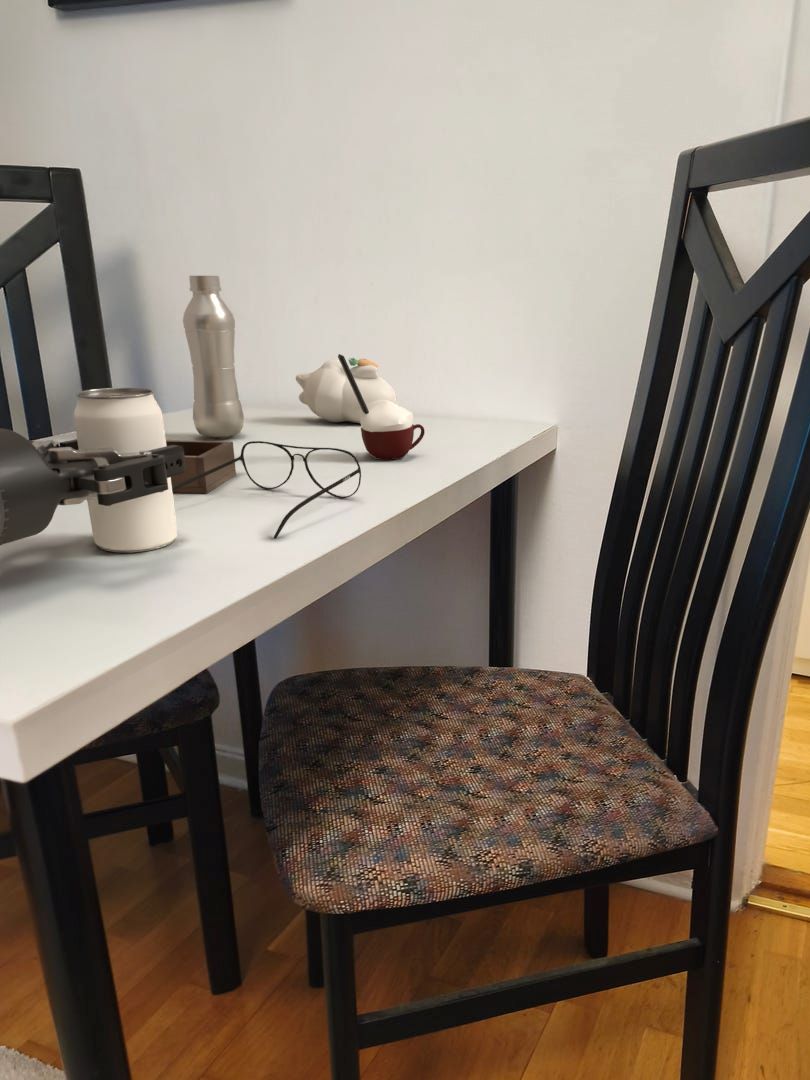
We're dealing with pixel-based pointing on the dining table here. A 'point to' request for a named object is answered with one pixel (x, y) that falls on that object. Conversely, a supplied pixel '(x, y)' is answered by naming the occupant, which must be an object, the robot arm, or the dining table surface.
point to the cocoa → (384, 424)
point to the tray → (204, 464)
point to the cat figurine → (343, 390)
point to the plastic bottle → (212, 360)
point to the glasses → (287, 478)
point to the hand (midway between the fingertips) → (140, 453)
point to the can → (126, 428)
